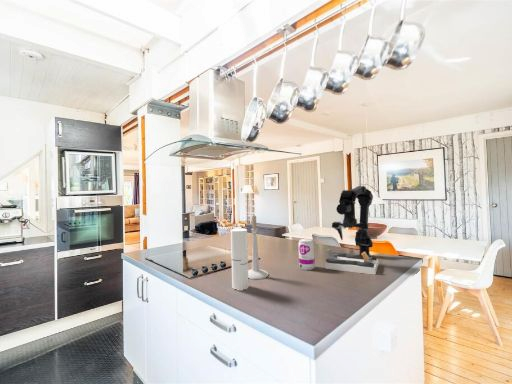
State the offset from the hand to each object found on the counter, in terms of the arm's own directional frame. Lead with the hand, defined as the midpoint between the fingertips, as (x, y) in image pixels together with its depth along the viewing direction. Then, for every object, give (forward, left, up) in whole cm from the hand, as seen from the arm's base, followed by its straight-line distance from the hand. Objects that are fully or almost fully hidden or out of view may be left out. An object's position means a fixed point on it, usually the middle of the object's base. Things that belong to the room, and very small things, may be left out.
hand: (350, 240), depth 144 cm
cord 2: (-1, +1, -10) cm, 10 cm away
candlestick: (+40, -39, -13) cm, 57 cm away
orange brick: (+6, +9, -9) cm, 14 cm away
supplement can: (+18, -20, -13) cm, 30 cm away
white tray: (+6, +1, -13) cm, 14 cm away
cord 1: (+13, +1, -10) cm, 16 cm away
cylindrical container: (+57, -37, -13) cm, 69 cm away
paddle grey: (+6, -9, -9) cm, 14 cm away
